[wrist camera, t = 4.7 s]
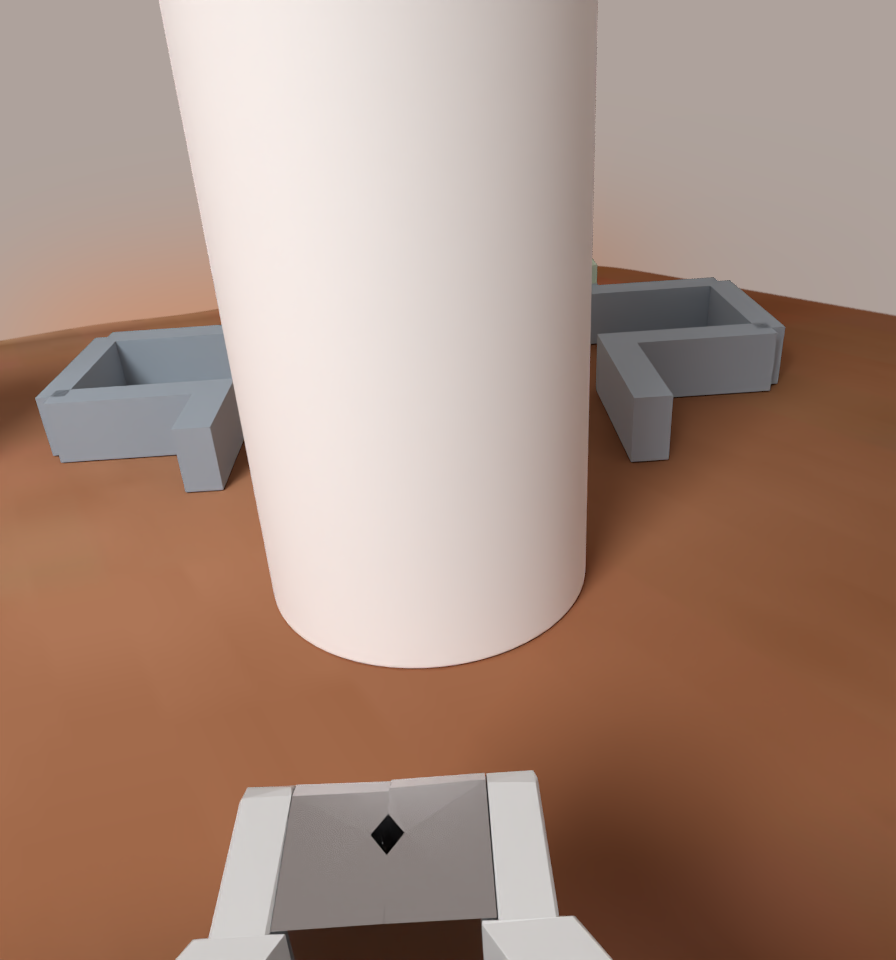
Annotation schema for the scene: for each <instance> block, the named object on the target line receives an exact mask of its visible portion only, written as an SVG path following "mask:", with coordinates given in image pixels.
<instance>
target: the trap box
mask: <svg viewBox="0 0 896 960" xmlns="http://www.w3.org/2000/svg"><path fill="white" fill-rule="evenodd" d="M784 332H785V326H784V325H782V324H781V323H780V322H779V321H778V320H776V319H775V318H774V317H773V316H772V315H770V314H769V313H768V312H767V311H766V310H764V309H763V308H762V307H761V306H760V305H759V304H757V303H756V302H755V301H754V300H753V299H751V298H750V297H749V296H748V295H747V294H745V293H744V292H743V291H742V290H741V289H739V288H738V287H737V286H736V285H735V284H733V283H732V282H731V281H730V280H727V281H717V280H716V279H715V278H714V277H711V278H697V279H682V280H667V281H653V282H638V283H623V284H609V285H598V284H597V264H596V263H595V261H594V260H593V258H592V291H591V337H590V344H596V343H597V366H596V391H597V393H598V395H599V397H600V399H601V401H602V403H603V405H604V407H605V409H606V411H607V413H608V415H609V417H610V420H611V422H612V424H613V426H614V428H615V430H616V432H617V434H618V436H619V438H620V440H621V442H622V444H623V446H624V448H625V450H626V453H627V455H628V457H629V459H630V461H631V462H636V461H651V460H665V459H669V447H670V434H671V420H672V406H673V397H682V396H697V395H711V394H726V393H741V392H755V391H770V387H771V384H776V383H778V376H779V369H780V361H781V354H782V347H783V339H784ZM35 400H36V403H37V406H38V409H39V412H40V415H41V419H42V422H43V425H44V428H45V431H46V434H47V437H48V441H49V444H50V447H51V450H52V453H53V456H56V455H59V457H60V460H61V462H76V461H91V460H105V459H120V458H134V457H149V456H164V455H177V458H178V462H179V466H180V470H181V475H182V479H183V483H184V487H185V491H186V492H197V491H211V490H223V489H224V487H225V484H226V482H227V480H228V477H229V475H230V472H231V470H232V467H233V465H234V462H235V460H236V458H237V455H238V453H239V450H240V448H241V445H242V443H243V440H244V437H243V432H242V426H241V421H240V416H239V411H238V406H237V401H236V396H235V390H234V385H233V380H232V375H231V370H230V365H229V360H228V354H227V349H226V344H225V339H224V334H223V329H222V325H213V326H199V327H184V328H169V329H155V330H140V331H125V332H112V333H111V334H110V335H109V336H108V337H103V338H95V339H94V340H93V341H92V342H91V343H90V344H89V345H88V346H87V347H86V348H85V349H84V350H83V351H82V352H81V353H80V354H79V355H78V356H77V357H76V358H75V359H74V360H73V361H72V362H71V363H70V364H69V365H68V366H67V367H66V368H65V369H64V370H63V371H62V372H61V373H60V374H59V375H58V376H57V377H56V378H55V379H54V380H53V381H52V382H51V383H50V384H49V385H48V386H47V387H46V388H45V389H44V390H43V391H42V392H41V393H40V394H39V395H38V396H37V397H36V398H35Z"/></svg>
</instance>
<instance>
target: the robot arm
mask: <svg viewBox="0 0 896 960" xmlns="http://www.w3.org/2000/svg"><path fill="white" fill-rule="evenodd" d="M175 960H613V959H612V958H611V957H610V956H609V954H608V953H607V952H606V951H605V950H604V949H603V948H602V946H601V945H600V944H599V943H598V942H597V941H596V940H595V938H594V937H593V936H592V935H591V934H590V933H589V932H588V930H587V929H586V928H585V927H584V926H583V925H582V924H581V922H580V921H579V920H578V919H577V918H576V917H575V916H559V912H558V905H557V899H556V892H555V886H554V880H553V873H552V867H551V861H550V854H549V848H548V841H547V835H546V829H545V822H544V816H543V810H542V803H541V797H540V790H539V784H538V778H537V776H536V775H535V773H534V771H533V770H530V771H515V772H500V773H486V778H485V774H484V773H478V774H464V775H451V776H438V777H424V778H411V779H398V780H391V781H389V782H362V783H334V784H307V785H295V786H272V787H249V788H247V790H246V792H245V793H244V795H243V797H242V799H241V801H240V804H239V808H238V812H237V817H236V821H235V825H234V830H233V834H232V838H231V843H230V847H229V851H228V856H227V860H226V864H225V869H224V873H223V877H222V882H221V886H220V890H219V895H218V899H217V903H216V908H215V912H214V916H213V921H212V925H211V929H210V934H209V938H203V939H193V940H192V941H191V942H190V943H189V945H188V946H187V947H186V948H185V949H184V950H183V951H182V953H181V954H180V955H179V956H178V957H177V958H176V959H175Z"/></svg>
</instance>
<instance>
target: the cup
mask: <svg viewBox="0 0 896 960" xmlns="http://www.w3.org/2000/svg"><path fill="white" fill-rule="evenodd" d="M159 5H160V10H161V15H162V20H163V25H164V31H165V36H166V41H167V46H168V51H169V56H170V62H171V67H172V72H173V76H174V82H175V87H176V92H177V97H178V102H179V108H180V113H181V118H182V123H183V128H184V133H185V138H186V144H187V149H188V153H189V159H190V164H191V169H192V175H193V180H194V184H195V190H196V195H197V200H198V205H199V211H200V216H201V220H202V226H203V231H204V236H205V241H206V247H207V252H208V257H209V262H210V267H211V272H212V277H213V282H214V288H215V293H216V298H217V303H218V308H219V313H220V318H221V324H222V329H223V334H224V339H225V344H226V349H227V354H228V360H229V365H230V370H231V375H232V380H233V385H234V390H235V396H236V401H237V406H238V411H239V416H240V421H241V426H242V432H243V437H244V442H245V447H246V452H247V457H248V462H249V468H250V473H251V478H252V483H253V488H254V493H255V498H256V503H257V509H258V514H259V519H260V524H261V529H262V534H263V539H264V545H265V550H266V555H267V560H268V565H269V570H270V575H271V581H272V586H273V591H274V596H275V600H276V603H277V606H278V608H279V610H280V612H281V614H282V616H283V618H284V619H285V620H286V622H287V623H288V624H289V625H290V626H291V628H292V629H293V630H294V631H295V632H296V633H298V634H299V635H300V636H301V637H303V638H304V639H305V640H307V641H308V642H310V643H312V644H313V645H315V646H316V647H318V648H321V649H323V650H325V651H327V652H329V653H331V654H334V655H337V656H339V657H342V658H345V659H349V660H352V661H356V662H360V663H365V664H370V665H376V666H384V667H394V668H432V667H444V666H451V665H458V664H464V663H469V662H473V661H478V660H482V659H485V658H488V657H492V656H495V655H498V654H501V653H504V652H506V651H509V650H512V649H514V648H516V647H518V646H520V645H522V644H525V643H527V642H528V641H530V640H532V639H534V638H535V637H537V636H539V635H540V634H542V633H543V632H545V631H546V630H548V629H549V628H550V627H552V626H553V625H554V624H555V623H556V622H558V621H559V620H560V619H561V618H562V617H563V616H564V615H565V614H566V613H567V612H568V610H569V609H570V608H571V606H572V605H573V604H574V602H575V601H576V599H577V597H578V595H579V593H580V591H581V588H582V586H583V583H584V577H585V567H586V521H587V475H588V429H589V383H590V337H591V291H592V245H593V242H592V241H593V198H594V197H593V196H594V152H595V151H594V150H595V106H596V105H595V103H596V61H597V14H598V0H159Z"/></svg>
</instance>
